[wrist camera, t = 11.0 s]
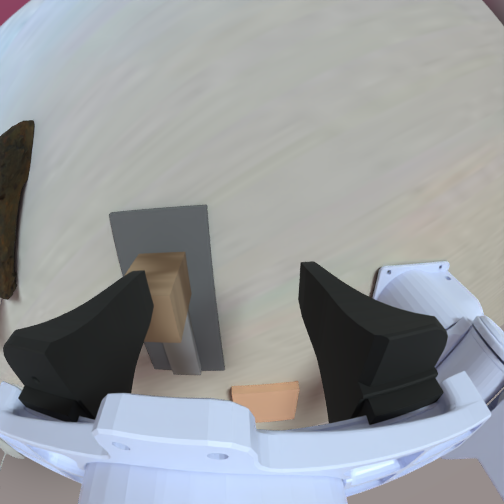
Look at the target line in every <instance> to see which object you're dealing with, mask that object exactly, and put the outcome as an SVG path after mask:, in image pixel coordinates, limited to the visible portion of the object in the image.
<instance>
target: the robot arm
mask: <svg viewBox="0 0 504 504" xmlns="http://www.w3.org/2000/svg"><path fill="white" fill-rule="evenodd" d="M439 266H440V267H439ZM448 269H449V263H448V262H447V261H442V262H430V263H419V264H407V265H395V266H384V267H381V268H380V269H379V272H378V277H377V281H376V285H375V289H374V293H373V297H372V298H371V297H369V296H366V295H364V294H362V293H361V292H359V291H357V290H355V289H354V288H352V287H350V286H349V285H347V284H345V283H344V282H342V281H341V280H339V279H338V278H337V277H335V276H334V275H332V274H331V273H329V272H328V271H327V270H325V269H324V268H323V267H321V266H320V265H318V264H317V263H315V262H301V266H300V283H299V297H298V300H299V305H300V310H301V314H302V318H303V321H304V324H305V326H306V329H307V332H308V335H309V337H310V340H311V343H312V345H313V348H314V351H315V354H316V357H317V360H318V365H319V369H320V374H321V378H322V383H323V388H324V394H325V400H326V406H327V412H328V419H329V424H324V425H318V426H312V427H305V428H298V429H290V430H263V429H256V425H255V417H254V416H253V414H252V413H251V411H250V410H249V409H248V408H246V407H245V406H242V405H240V404H237V403H235V402H233V401H230V400H222V399H214V398H182V397H164V396H151V395H140V394H131V390H132V383H133V378H134V372H135V367H136V363H137V360H138V357H139V354H140V351H141V348H142V345H143V343H144V340H145V337H146V334H147V331H148V329H149V326H150V322H151V318H152V313H153V308H154V304H153V301H152V297H151V293H150V290H149V286H148V282H147V278H146V274H145V270H139V271H132V272H130V273H128V274H127V275H125V276H124V277H122V278H121V279H119V280H118V281H116V282H115V283H114V284H112V285H111V286H110V287H108V288H107V289H105V290H104V291H102V292H101V293H99V294H98V295H97V296H95V297H94V298H92V299H91V300H89V301H88V302H86V303H84V304H83V305H81V306H79V307H77V308H75V309H74V310H72V311H70V312H68V313H65V314H63V315H61V316H59V317H57V318H54V319H52V320H49V321H47V322H44V323H41V324H38V325H34V326H31V327H26V328H22V329H18V330H15V331H14V332H13V334H12V335H11V336H10V338H9V339H8V341H7V342H6V343H5V345H4V347H3V352H4V356H5V358H6V360H7V362H8V364H9V365H10V367H11V368H12V370H13V371H14V372H15V374H16V375H17V376H18V378H19V379H20V380H21V382H22V383H23V384H24V385H25V386H24V388H23V390H21V389H19V388H18V387H16V386H14V385H12V384H9V383H7V382H4V381H2V383H1V385H0V438H1V439H3V440H4V441H5V442H6V443H7V444H8V445H10V446H11V447H12V448H13V449H14V450H16V451H17V452H19V453H21V454H22V455H24V456H26V457H28V458H30V459H32V460H33V461H35V462H37V463H39V464H41V465H43V466H45V467H47V468H48V469H51V470H52V471H54V472H57V473H59V474H61V475H63V476H65V477H67V478H69V479H72V480H74V481H77V482H79V483H81V484H82V486H81V491H80V496H79V500H78V504H348V503H347V498H346V497H347V496H351V495H354V494H357V493H360V492H363V491H366V490H369V489H372V488H374V487H377V486H380V485H382V484H385V483H387V482H390V481H392V480H395V479H397V478H399V477H401V476H404V475H406V474H408V473H410V472H412V471H414V470H416V469H418V468H420V467H422V466H424V465H426V464H428V463H430V462H432V461H434V460H436V459H438V458H440V457H441V458H442V459H465V458H476V459H478V461H479V462H480V464H481V465H482V467H483V469H484V470H485V472H486V473H487V475H488V476H489V478H490V480H491V481H492V483H493V485H494V486H495V488H496V489H497V491H498V493H499V495H500V496H501V498H502V500H503V501H504V389H503V390H502V391H501V393H500V394H499V395H498V396H497V397H496V398H495V399H494V400H493V401H492V402H491V403H490V404H489V405H488V406H487V405H486V404H487V403H488V402H489V401H490V400H491V399H492V398H493V397H494V396H495V395H496V394H497V393H498V392H499V391H500V390H501V388H503V387H504V332H503V331H502V329H500V327H499V326H498V325H497V324H496V323H495V322H493V321H492V320H491V319H490V318H489V317H487V316H486V315H484V314H483V310H482V307H481V305H480V303H479V301H478V300H477V298H476V297H475V296H474V295H473V294H472V293H471V292H470V291H469V290H468V289H466V288H465V287H464V286H463V285H462V284H461V283H460V282H459V281H458V280H457V279H456V278H455V277H454V276H453V275H451V274H450V273H449V272H448ZM388 270H389V272H388V273H387V271H388Z"/></svg>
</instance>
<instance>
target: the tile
mask: <svg viewBox="0 0 504 504" xmlns="http://www.w3.org/2000/svg"><path fill="white" fill-rule="evenodd" d="M298 395H299V384H298V381H295V382H286V383H275V384H263V385H247V386H232V398H233V402H235V403H237V404H240V405H242V406H245V407H246V408H248V409H249V410H250V411H251V413H252V414H253V416H254V417H255V423H258V422H271V421H281V420H290V419H294V416H295V411H296V406H297V400H298Z"/></svg>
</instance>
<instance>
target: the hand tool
mask: <svg viewBox="0 0 504 504" xmlns="http://www.w3.org/2000/svg"><path fill="white" fill-rule="evenodd" d="M33 132H34V121H33V120H29V121H22V122H20V123H18V124H16V125H14V126H12V127H11V128H10V129H9V130H7V131H6V132H5V133H3V134H2V135H1V136H0V298H2V299H9V298H10V297H11V296H12V294H13V292H14V291H15V289H16V287H17V284H16V282H15V278H16V275H17V274H16V273H15V272H14V242H15V240H16V235H15V231H16V225H17V213H18V206H19V200H20V193H21V190H22V188H23V185H24V183H25V182H26V181H27V180H28V175H29V169H30V163H31V153H32V143H33Z"/></svg>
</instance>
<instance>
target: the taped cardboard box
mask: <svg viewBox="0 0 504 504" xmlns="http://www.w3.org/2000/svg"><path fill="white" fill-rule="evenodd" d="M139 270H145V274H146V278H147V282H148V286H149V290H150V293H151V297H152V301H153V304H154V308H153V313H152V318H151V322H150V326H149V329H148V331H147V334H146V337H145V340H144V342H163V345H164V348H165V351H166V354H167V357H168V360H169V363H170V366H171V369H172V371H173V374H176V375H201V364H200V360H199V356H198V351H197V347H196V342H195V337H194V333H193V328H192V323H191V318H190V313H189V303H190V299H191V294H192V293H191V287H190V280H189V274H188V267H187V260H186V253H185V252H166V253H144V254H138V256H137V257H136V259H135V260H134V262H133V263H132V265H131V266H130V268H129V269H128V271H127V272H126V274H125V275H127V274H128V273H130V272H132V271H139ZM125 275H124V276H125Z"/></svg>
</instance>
